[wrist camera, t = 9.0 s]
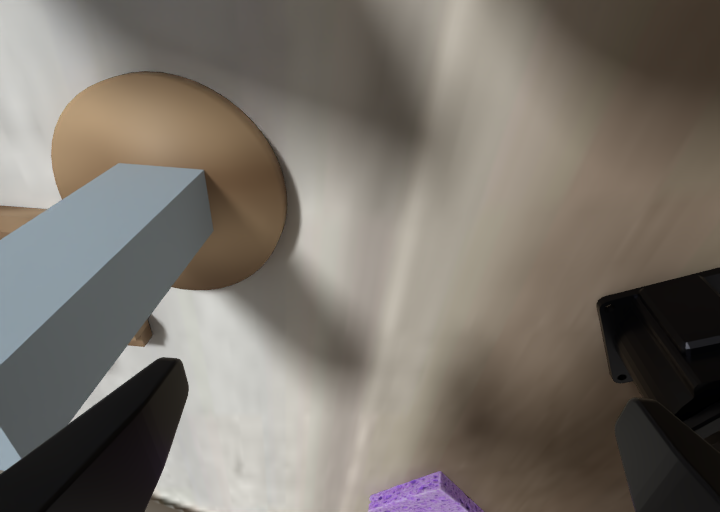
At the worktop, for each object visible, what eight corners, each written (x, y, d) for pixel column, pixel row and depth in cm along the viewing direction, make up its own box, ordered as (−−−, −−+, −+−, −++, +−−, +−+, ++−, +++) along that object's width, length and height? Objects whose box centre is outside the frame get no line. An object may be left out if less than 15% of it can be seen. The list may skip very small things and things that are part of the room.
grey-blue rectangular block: (203, 169, 20) (-25, 388, 9) (213, 230, 21) (31, 473, 11) (118, 163, 20) (-201, 370, 9) (135, 224, 22) (-119, 456, 11)
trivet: (324, 244, 22) (321, 254, 22) (160, 301, 26) (152, 311, 25) (204, 25, 17) (194, 28, 16) (16, 129, 20) (0, 136, 20)
